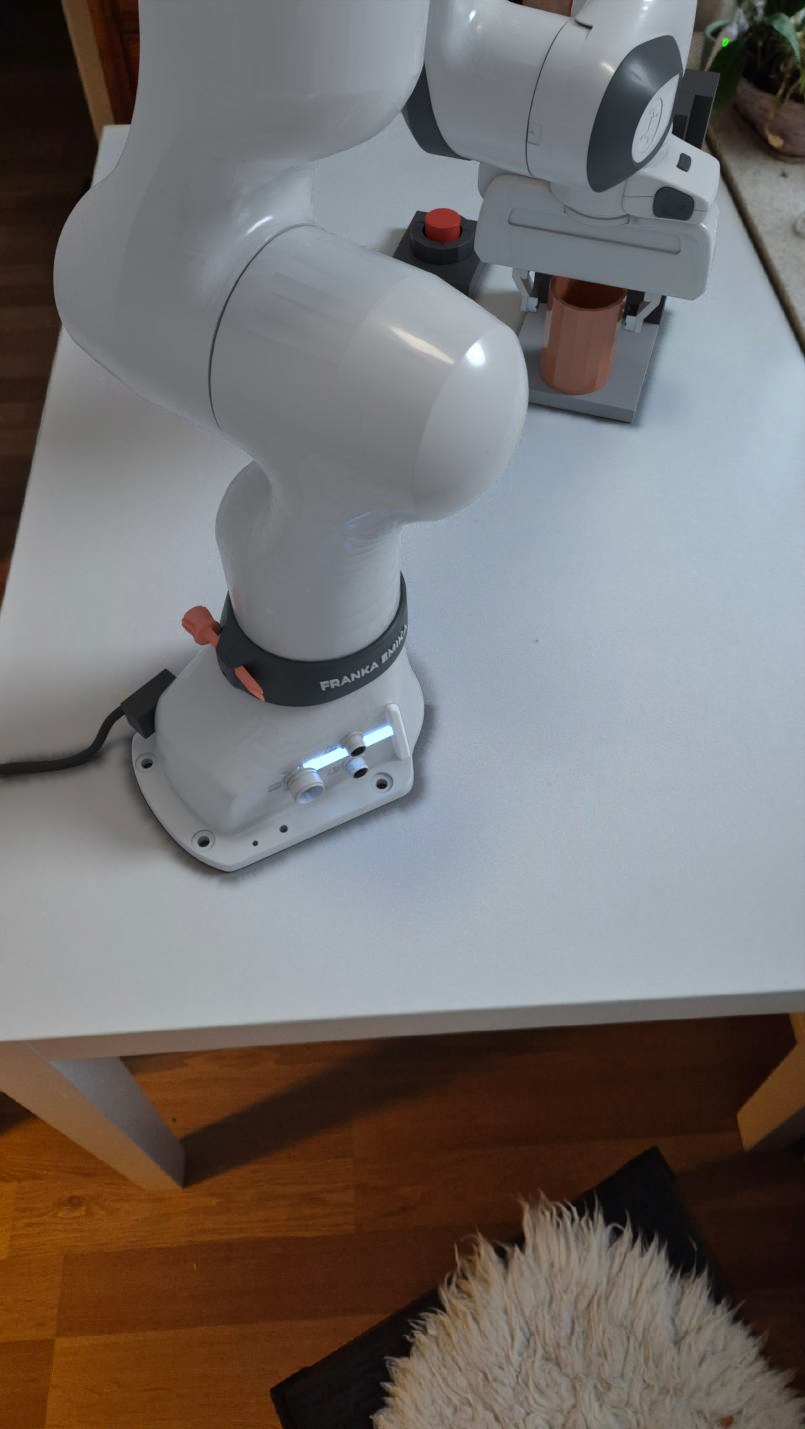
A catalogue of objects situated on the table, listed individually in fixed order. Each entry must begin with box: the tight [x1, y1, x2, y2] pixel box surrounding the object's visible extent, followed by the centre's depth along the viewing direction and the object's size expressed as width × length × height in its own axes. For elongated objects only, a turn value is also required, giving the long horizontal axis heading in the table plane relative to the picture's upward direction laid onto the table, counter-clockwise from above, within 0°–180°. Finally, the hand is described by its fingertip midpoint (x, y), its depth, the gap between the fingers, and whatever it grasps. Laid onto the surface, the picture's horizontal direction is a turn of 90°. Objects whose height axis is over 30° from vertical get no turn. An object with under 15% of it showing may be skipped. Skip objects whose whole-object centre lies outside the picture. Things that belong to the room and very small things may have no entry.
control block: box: [391, 210, 487, 299], centre depth 106 cm, size 11×9×4 cm
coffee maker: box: [517, 67, 721, 424], centre depth 90 cm, size 17×13×23 cm
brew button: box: [425, 207, 460, 242], centre depth 104 cm, size 4×4×2 cm
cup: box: [539, 275, 627, 395], centre depth 93 cm, size 7×7×9 cm
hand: (581, 318), depth 91 cm, fingers open, 8 cm apart
